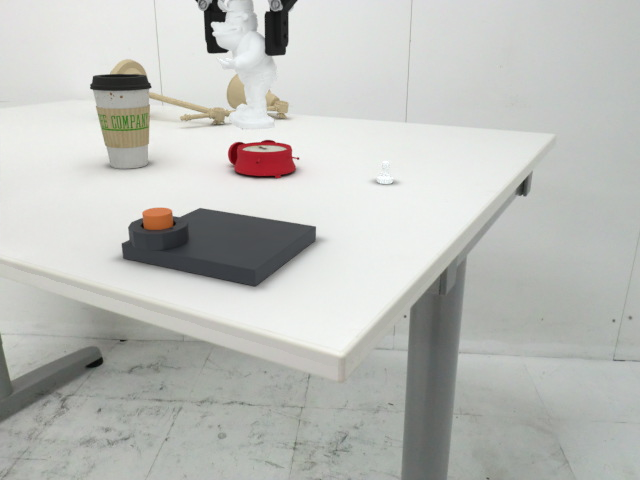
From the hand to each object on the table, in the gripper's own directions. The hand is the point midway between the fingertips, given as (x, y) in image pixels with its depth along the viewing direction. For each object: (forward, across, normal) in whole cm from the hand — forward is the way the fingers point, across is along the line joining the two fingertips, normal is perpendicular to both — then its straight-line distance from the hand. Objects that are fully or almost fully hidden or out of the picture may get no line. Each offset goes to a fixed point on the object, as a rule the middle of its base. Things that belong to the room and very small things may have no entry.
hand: (246, 52), depth 57 cm
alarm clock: (+21, -17, +32) cm, 42 cm away
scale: (+21, -2, -3) cm, 21 cm away
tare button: (+17, -7, -7) cm, 20 cm away
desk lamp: (+21, -58, +77) cm, 99 cm away
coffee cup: (+21, -39, +24) cm, 50 cm away
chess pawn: (+21, +5, +33) cm, 40 cm away
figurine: (+7, 0, 0) cm, 7 cm away
